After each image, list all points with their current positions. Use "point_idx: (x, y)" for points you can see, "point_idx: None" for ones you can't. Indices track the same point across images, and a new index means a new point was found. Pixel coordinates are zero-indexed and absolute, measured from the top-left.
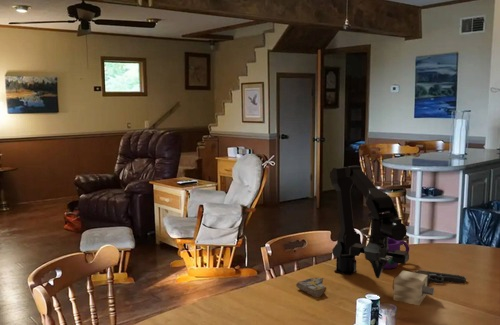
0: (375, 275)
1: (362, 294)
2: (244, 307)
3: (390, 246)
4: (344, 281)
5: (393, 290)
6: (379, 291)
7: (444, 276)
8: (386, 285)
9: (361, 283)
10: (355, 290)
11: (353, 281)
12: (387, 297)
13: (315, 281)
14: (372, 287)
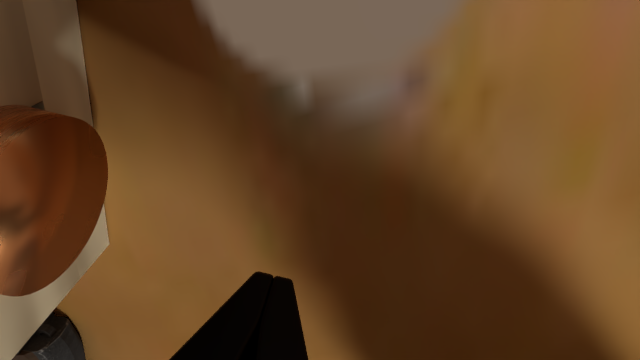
0: (297, 308)
1: (474, 14)
2: None
3: None
4: (637, 310)
5: (95, 130)
6: (280, 166)
7: None
8: None
9: (464, 298)
10: (556, 121)
11: (539, 322)
12: (161, 21)
13: None
14: (359, 240)
